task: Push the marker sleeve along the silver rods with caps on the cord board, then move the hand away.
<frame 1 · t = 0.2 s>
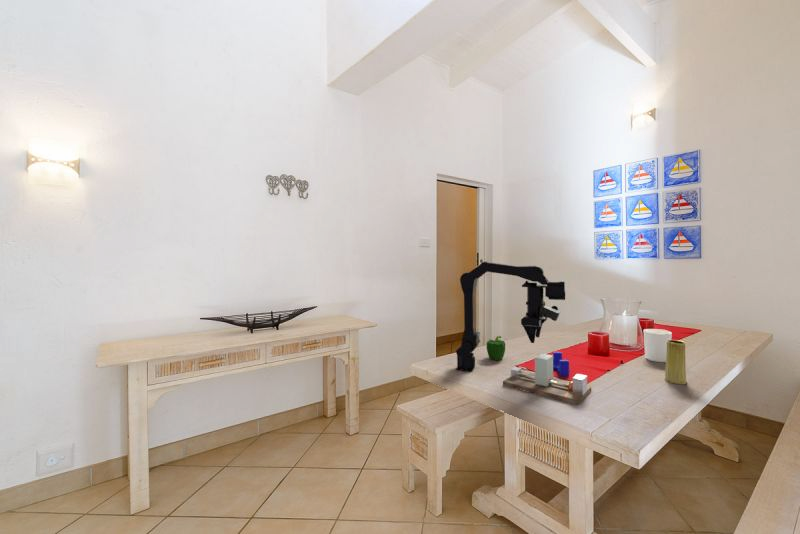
hand: (535, 339, 132), 14 cm above the table, tool pointing down, fingers open, 9 cm apart
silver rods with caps: (541, 386, 122), resting on cord board
white cylinder: (657, 359, 148), on the table
vase: (675, 381, 124), on the table
blue stepped block: (558, 371, 138), on the table
cord board: (541, 386, 122), on the table
bell pepper: (496, 359, 155), on the table
marker sleeve: (544, 369, 121), point 6 cm above the table, slide at 0.0 cm
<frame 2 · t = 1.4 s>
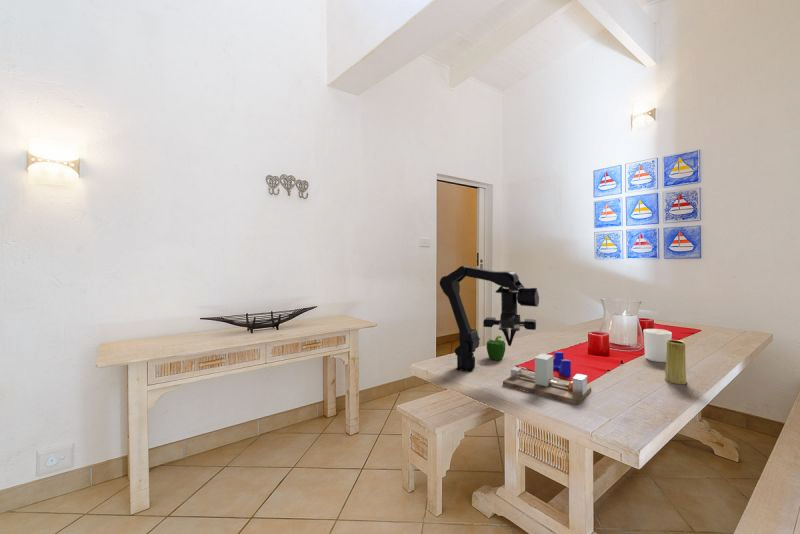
hand: (509, 345, 132), 12 cm above the table, tool pointing down, fingers closed
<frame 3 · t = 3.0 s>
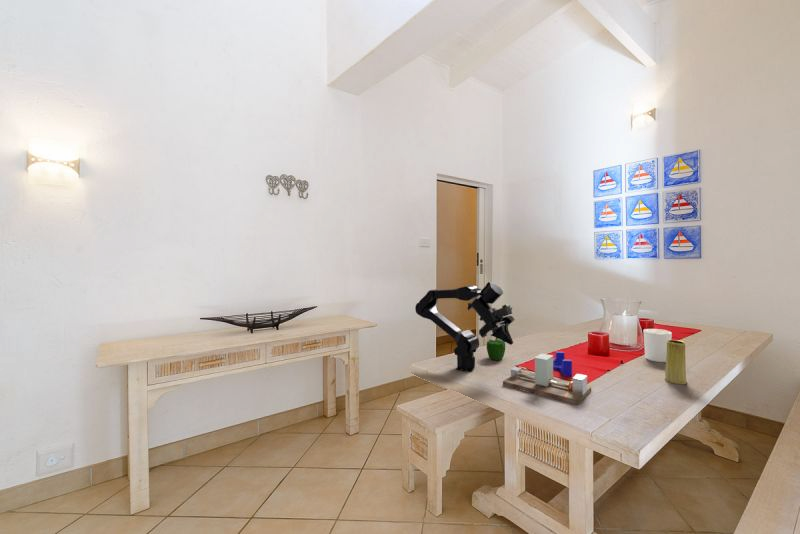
hand: (512, 344, 129), 14 cm above the table, tool tilted 45°, fingers closed
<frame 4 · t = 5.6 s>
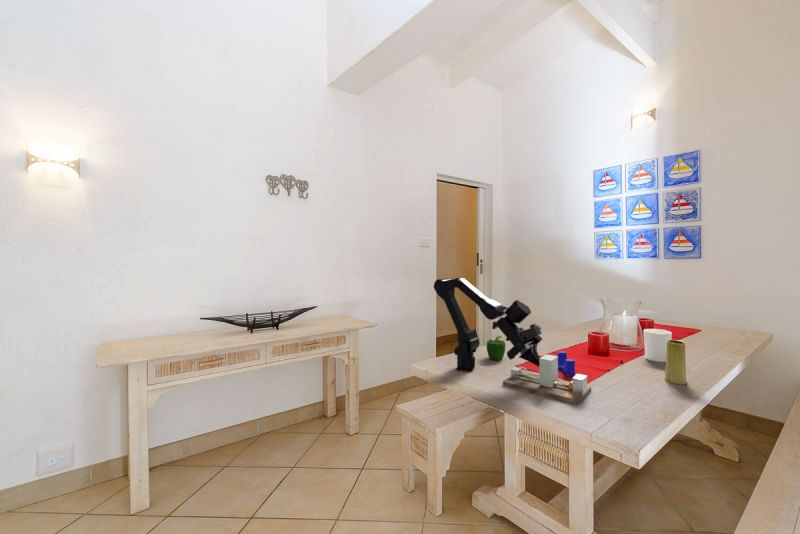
hand: (542, 366, 121), 7 cm above the table, tool tilted 45°, fingers closed, pressing on marker sleeve
marker sleeve: (548, 370, 120), point 6 cm above the table, slide at 1.6 cm, touching gripper
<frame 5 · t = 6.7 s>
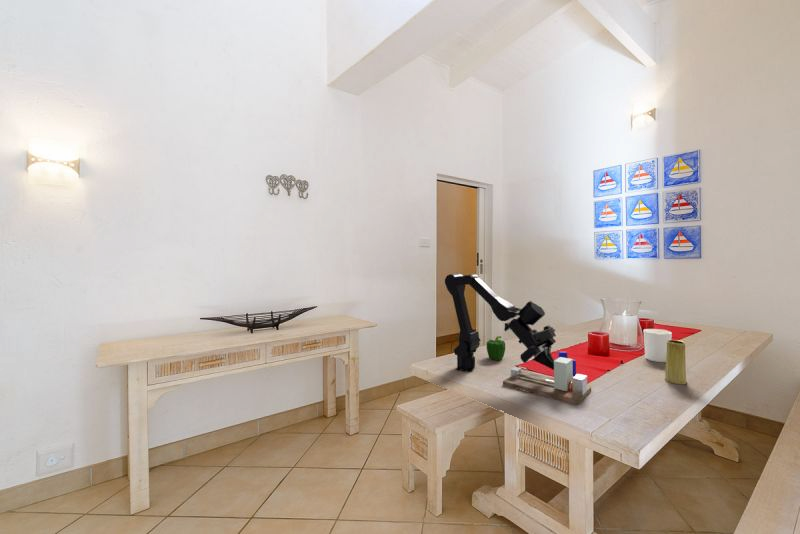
hand: (556, 369, 118), 7 cm above the table, tool tilted 45°, fingers closed, pressing on marker sleeve
marker sleeve: (563, 373, 117), point 6 cm above the table, slide at 6.4 cm, touching gripper
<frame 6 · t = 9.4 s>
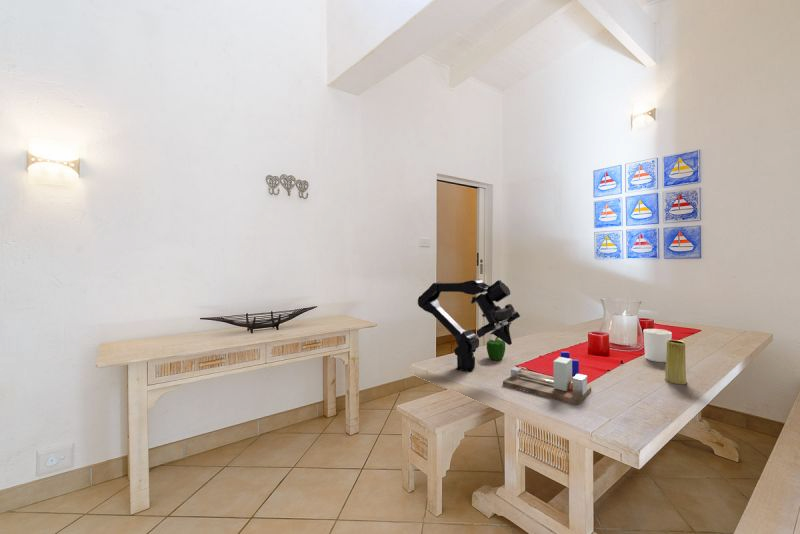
hand: (510, 344, 130), 13 cm above the table, tool tilted 35°, fingers closed
marker sleeve: (562, 373, 117), point 6 cm above the table, slide at 6.2 cm
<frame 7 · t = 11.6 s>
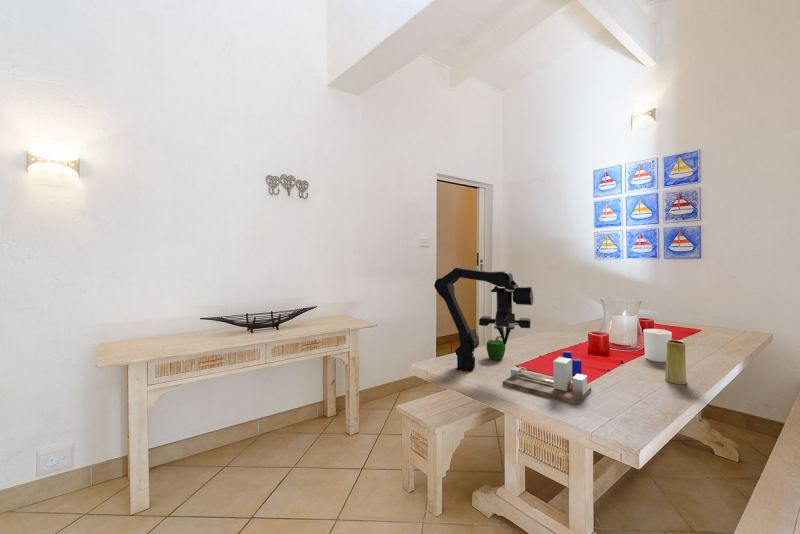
hand: (505, 343, 134), 12 cm above the table, tool pointing down, fingers closed
at the end: marker sleeve slide at 6.2 cm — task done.
